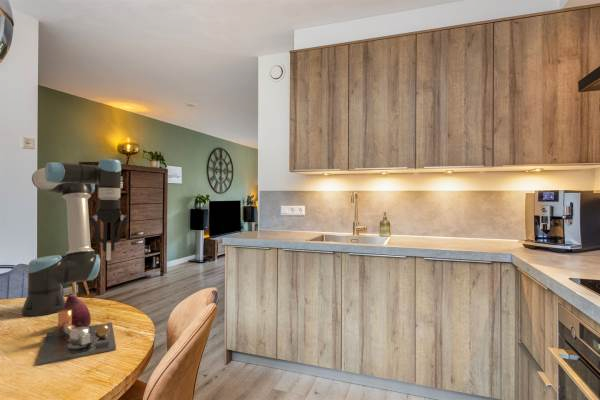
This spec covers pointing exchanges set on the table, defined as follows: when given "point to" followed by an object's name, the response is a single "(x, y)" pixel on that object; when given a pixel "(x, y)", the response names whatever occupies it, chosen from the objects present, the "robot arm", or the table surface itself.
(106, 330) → the base
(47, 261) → the robot arm
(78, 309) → the vegetable
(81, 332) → the lever
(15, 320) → the table surface
